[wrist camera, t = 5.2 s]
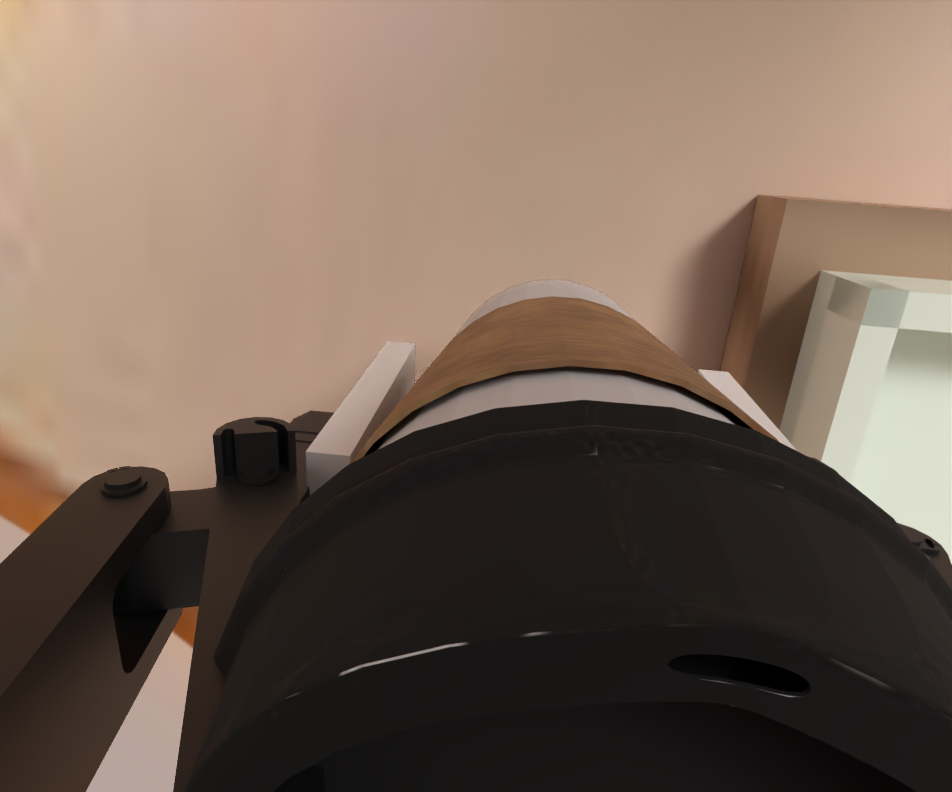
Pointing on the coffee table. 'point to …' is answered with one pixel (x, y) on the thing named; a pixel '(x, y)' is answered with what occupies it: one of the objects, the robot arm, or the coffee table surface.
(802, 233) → the shelf board
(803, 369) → the tray
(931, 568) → the coffee cup
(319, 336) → the coffee table surface
